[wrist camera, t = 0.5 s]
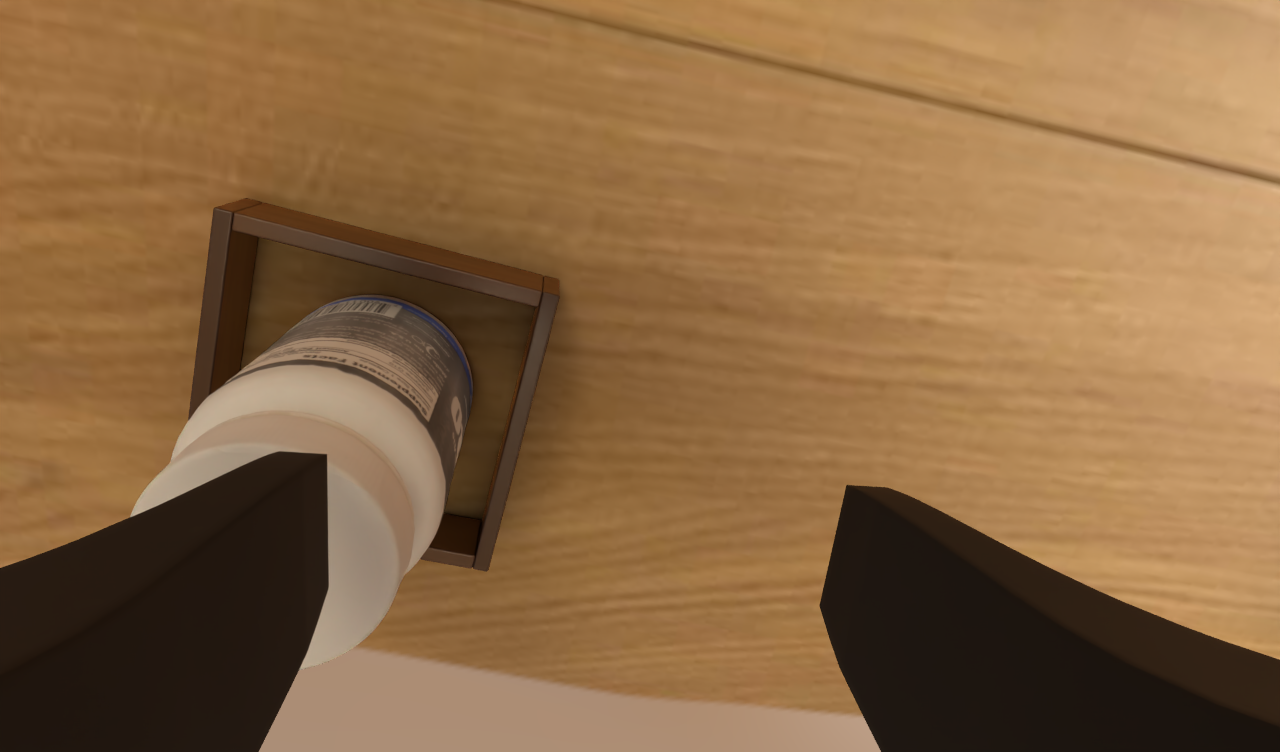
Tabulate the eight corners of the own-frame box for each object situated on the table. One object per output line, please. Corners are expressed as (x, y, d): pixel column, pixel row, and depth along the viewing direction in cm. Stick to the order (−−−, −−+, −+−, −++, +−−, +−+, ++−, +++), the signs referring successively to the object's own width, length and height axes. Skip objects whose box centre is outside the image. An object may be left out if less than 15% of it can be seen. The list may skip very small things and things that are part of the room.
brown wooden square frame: (560, 279, 19) (560, 295, 17) (493, 535, 21) (487, 572, 20) (245, 197, 18) (212, 207, 16) (208, 480, 20) (176, 515, 18)
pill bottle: (424, 495, 21) (344, 736, 13) (251, 416, 19) (43, 628, 12) (508, 347, 20) (478, 509, 12) (330, 253, 18) (162, 364, 10)
